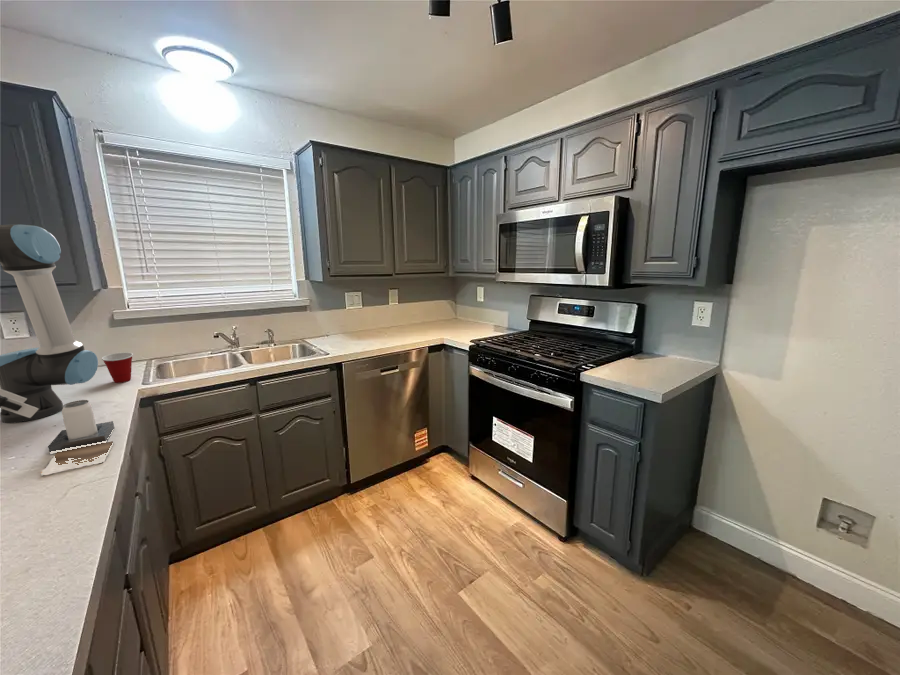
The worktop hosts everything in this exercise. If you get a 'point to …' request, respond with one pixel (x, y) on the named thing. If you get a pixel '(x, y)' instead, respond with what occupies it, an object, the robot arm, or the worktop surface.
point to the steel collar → (63, 441)
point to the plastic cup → (119, 366)
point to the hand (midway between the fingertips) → (28, 407)
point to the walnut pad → (83, 453)
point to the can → (79, 419)
